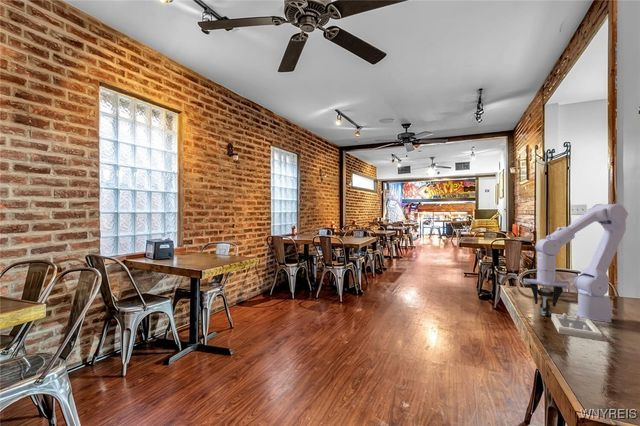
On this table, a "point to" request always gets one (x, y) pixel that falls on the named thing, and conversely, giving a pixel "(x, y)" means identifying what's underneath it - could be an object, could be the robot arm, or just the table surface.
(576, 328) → the pin tray
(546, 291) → the push button
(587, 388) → the table surface
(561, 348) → the table surface
